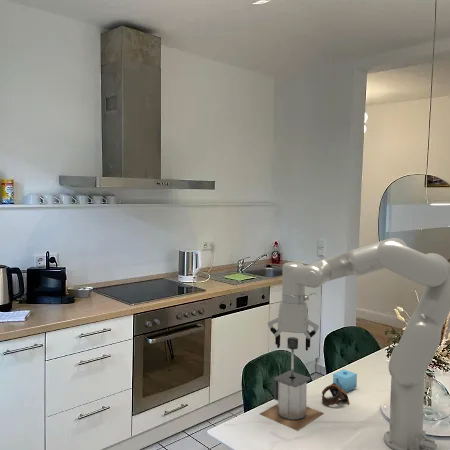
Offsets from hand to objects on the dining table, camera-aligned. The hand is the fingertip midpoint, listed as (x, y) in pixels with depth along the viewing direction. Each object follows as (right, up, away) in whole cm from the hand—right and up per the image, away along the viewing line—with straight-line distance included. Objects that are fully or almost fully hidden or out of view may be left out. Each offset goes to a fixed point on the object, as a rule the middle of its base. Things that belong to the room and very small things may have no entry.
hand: (292, 348), depth 154 cm
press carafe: (-1, -23, +2) cm, 23 cm away
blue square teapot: (+24, -23, +23) cm, 40 cm away
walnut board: (0, -24, +2) cm, 24 cm away
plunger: (0, -13, +1) cm, 13 cm away
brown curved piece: (+18, -24, +11) cm, 32 cm away
